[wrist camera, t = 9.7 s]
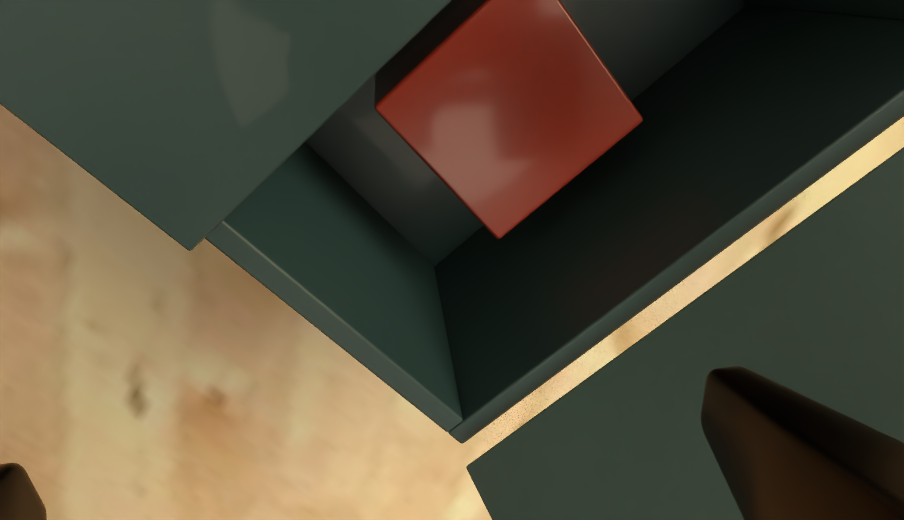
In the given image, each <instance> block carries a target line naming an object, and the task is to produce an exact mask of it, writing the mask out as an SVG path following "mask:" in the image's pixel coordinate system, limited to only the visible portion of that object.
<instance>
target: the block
mask: <svg viewBox="0 0 904 520" xmlns="http://www.w3.org/2000/svg"><path fill="white" fill-rule="evenodd" d="M374 108H375V110H376V111H377V113H378V114H379V115H380V116H381V117H382V118H383V119H384V120H385V121H386V122H387V123H388V124H389V125H390V126H391V127H392V128H393V130H394V131H395V132H396V133H397V134H398V135H399V136H400V137H401V138H402V139H403V140H404V141H405V142H406V143H407V144H408V145H409V147H410V148H411V149H412V150H413V151H414V152H415V153H416V154H417V155H418V156H419V157H420V158H421V159H422V160H423V161H424V162H425V163H426V165H427V166H428V167H429V168H430V169H431V170H432V171H433V172H434V173H435V174H436V175H437V176H438V177H439V178H440V179H441V180H442V182H443V183H444V184H445V185H446V186H447V187H448V188H449V189H450V190H451V191H452V192H453V193H454V194H455V195H456V196H457V197H458V199H459V200H460V201H461V202H462V203H463V204H464V205H465V206H466V207H467V208H468V209H469V210H470V211H471V212H472V213H473V214H474V216H475V217H476V218H477V219H478V220H479V221H480V222H481V223H482V224H483V225H484V226H485V227H486V228H487V229H488V230H489V231H490V232H491V234H492V235H493V236H494V237H495V238H497V239H500V238H502V237H503V236H504V235H505V234H507V233H508V232H509V231H510V230H511V229H513V228H514V227H515V226H516V225H518V224H519V223H520V222H521V221H522V220H524V219H525V218H526V217H527V216H528V215H530V214H531V213H532V212H533V211H535V210H536V209H537V208H538V207H539V206H541V205H542V204H543V203H544V202H545V201H547V200H548V199H549V198H550V197H552V196H553V195H554V194H555V193H556V192H558V191H559V190H560V189H561V188H562V187H564V186H565V185H566V184H567V183H569V182H570V181H571V180H572V179H573V178H575V177H576V176H577V175H578V174H579V173H581V172H582V171H583V170H584V169H585V168H587V167H588V166H589V165H590V164H592V163H593V162H594V161H595V160H596V159H598V158H599V157H600V156H601V155H602V154H604V153H605V152H606V151H607V150H609V149H610V148H611V147H612V146H613V145H615V144H616V143H617V142H618V141H619V140H621V139H622V138H623V137H624V136H626V135H627V134H628V133H629V132H630V131H632V130H633V129H634V128H635V127H636V126H638V125H639V124H640V123H641V122H642V121H643V119H642V116H641V115H640V113H639V112H638V111H637V109H636V108H635V106H634V105H633V103H632V102H631V101H630V99H629V98H628V96H627V95H626V93H625V92H624V91H623V89H622V88H621V86H620V85H619V83H618V82H617V81H616V79H615V78H614V76H613V75H612V74H611V72H610V71H609V69H608V68H607V66H606V65H605V64H604V62H603V61H602V59H601V58H600V56H599V55H598V54H597V52H596V51H595V49H594V48H593V46H592V45H591V44H590V42H589V41H588V39H587V38H586V36H585V35H584V34H583V32H582V31H581V29H580V28H579V26H578V25H577V24H576V22H575V21H574V19H573V18H572V16H571V15H570V14H569V12H568V11H567V9H566V8H565V7H564V5H563V4H562V2H561V1H560V0H452V1H451V2H450V3H449V4H448V5H447V6H446V7H445V8H444V9H443V10H442V11H441V12H440V13H439V14H438V15H437V16H435V17H434V18H433V19H432V20H431V21H430V22H429V23H428V24H427V25H426V26H425V27H424V28H423V29H422V30H421V31H420V32H419V33H418V34H417V35H416V36H415V37H414V38H413V39H412V40H410V41H409V42H408V43H407V44H406V45H405V46H404V47H403V48H402V49H401V50H400V51H399V52H398V53H397V54H396V55H395V56H394V57H393V58H392V59H391V60H390V61H389V62H388V63H387V64H385V65H384V66H383V67H382V68H381V69H380V70H379V71H378V72H377V73H376V75H375V93H374Z"/></svg>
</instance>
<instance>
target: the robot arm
mask: <svg viewBox="0 0 904 520" xmlns="http://www.w3.org/2000/svg"><path fill="white" fill-rule="evenodd" d="M701 425H702V429H703V432H704V435H705V437H706V439H707V441H708V443H709V445H710V448H711V450H712V452H713V454H714V456H715V458H716V460H717V463H718V465H719V467H720V469H721V471H722V473H723V475H724V478H725V480H726V482H727V484H728V486H729V488H730V490H731V493H732V495H733V497H734V499H735V501H736V503H737V505H738V508H739V510H740V512H741V514H742V516H743V518H744V520H904V443H903V442H901V441H899V440H897V439H895V438H893V437H891V436H888V435H886V434H884V433H882V432H880V431H878V430H876V429H874V428H871V427H869V426H867V425H865V424H863V423H861V422H859V421H857V420H855V419H852V418H850V417H848V416H846V415H844V414H842V413H840V412H838V411H836V410H833V409H831V408H829V407H827V406H825V405H823V404H821V403H819V402H816V401H814V400H812V399H810V398H808V397H806V396H804V395H802V394H800V393H797V392H795V391H793V390H791V389H789V388H787V387H785V386H783V385H781V384H778V383H776V382H774V381H772V380H770V379H768V378H766V377H764V376H761V375H759V374H757V373H755V372H753V371H751V370H749V369H747V368H744V367H741V366H731V367H724V368H716V369H713V370H711V371H710V372H709V374H708V375H707V379H706V384H705V391H704V397H703V403H702V410H701ZM0 520H47V517H46V509H45V506H44V504H43V502H42V500H41V498H40V496H39V495H38V493H37V491H36V489H35V487H34V485H33V483H32V482H31V480H30V478H29V476H28V474H27V472H26V471H25V469H24V468H23V467H22V466H20V465H19V464H16V463H7V464H0Z"/></svg>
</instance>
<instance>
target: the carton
mask: <svg viewBox="0 0 904 520" xmlns="http://www.w3.org/2000/svg"><path fill="white" fill-rule="evenodd" d="M451 1H452V0H0V104H1V105H2V106H4V107H5V108H6V109H8V110H9V111H10V112H11V113H13V114H14V115H15V116H17V117H18V118H19V119H20V120H22V121H23V122H24V123H26V124H27V125H28V126H29V127H31V128H32V129H33V130H35V131H36V132H37V133H38V134H40V135H41V136H42V137H44V138H45V139H46V140H47V141H49V142H50V143H51V144H52V145H54V146H55V147H56V148H58V149H59V150H60V151H61V152H63V153H64V154H65V155H67V156H68V157H69V158H70V159H72V160H73V161H74V162H76V163H77V164H78V165H79V166H81V167H82V168H83V169H85V170H86V171H87V172H88V173H90V174H91V175H92V176H94V177H95V178H96V179H97V180H99V181H100V182H101V183H102V184H104V185H105V186H106V187H108V188H109V189H110V190H111V191H113V192H114V193H115V194H117V195H118V196H119V197H120V198H122V199H123V200H124V201H126V202H127V203H128V204H129V205H131V206H132V207H133V208H135V209H136V210H137V211H138V212H140V213H141V214H142V215H143V216H145V217H146V218H147V219H149V220H150V221H151V222H152V223H154V224H155V225H156V226H158V227H159V228H160V229H161V230H163V231H164V232H165V233H167V234H168V235H169V236H170V237H172V238H173V239H174V240H176V241H177V242H178V243H179V244H181V245H182V246H183V247H185V248H186V249H187V250H189V251H191V250H193V249H194V248H195V247H196V246H197V245H198V244H199V243H200V242H201V241H202V240H203V239H204V238H205V239H206V240H208V241H209V242H210V243H211V244H213V245H214V246H215V247H216V248H218V249H219V250H220V251H221V252H223V253H224V254H225V255H226V256H228V257H229V258H230V259H231V260H233V261H234V262H235V263H236V264H238V265H239V266H240V267H241V268H243V269H244V270H245V271H246V272H248V273H249V274H250V275H251V276H253V277H254V278H255V279H256V280H258V281H259V282H260V283H261V284H263V285H264V286H265V287H266V288H268V289H269V290H270V291H271V292H273V293H274V294H275V295H276V296H278V297H279V298H280V299H281V300H283V301H284V302H285V303H286V304H288V305H289V306H290V307H291V308H293V309H294V310H295V311H296V312H298V313H299V314H300V315H301V316H303V317H304V318H305V319H306V320H308V321H309V322H310V323H311V324H313V325H314V326H315V327H316V328H318V329H319V330H320V331H321V332H323V333H324V334H325V335H326V336H328V337H329V338H330V339H331V340H333V341H334V342H335V343H336V344H338V345H339V346H340V347H341V348H343V349H344V350H345V351H346V352H348V353H349V354H350V355H351V356H353V357H354V358H355V359H356V360H358V361H359V362H360V363H361V364H363V365H364V366H365V367H366V368H368V369H369V370H370V371H371V372H372V373H374V374H375V375H376V376H377V377H379V378H380V379H381V380H382V381H384V382H385V383H386V384H387V385H389V386H390V387H391V388H392V389H394V390H395V391H396V392H397V393H399V394H400V395H401V396H402V397H404V398H405V399H406V400H407V401H409V402H410V403H411V404H412V405H414V406H415V407H416V408H417V409H419V410H420V411H421V412H422V413H424V414H425V415H426V416H427V417H429V418H430V419H431V420H432V421H434V422H435V423H436V424H437V425H439V426H440V427H441V428H442V429H444V430H445V431H446V432H448V433H449V434H450V435H451V436H452V437H454V438H455V439H456V440H457V441H459V442H460V443H464V442H466V441H467V440H468V439H470V438H471V437H472V436H474V435H475V434H476V433H478V432H479V431H480V430H482V429H483V428H484V427H486V426H487V425H488V424H490V423H491V422H493V421H494V420H495V419H497V418H498V417H499V416H501V415H502V414H503V413H505V412H506V411H507V410H509V409H510V408H511V407H513V406H514V405H515V404H517V403H518V402H519V401H521V400H522V399H524V398H525V397H526V396H528V395H529V394H530V393H532V392H533V391H534V390H536V389H537V388H538V387H540V386H541V385H542V384H544V383H545V382H546V381H548V380H549V379H550V378H552V377H553V376H555V375H556V374H557V373H559V372H560V371H561V370H563V369H564V368H565V367H567V366H568V365H569V364H571V363H572V362H573V361H575V360H576V359H577V358H579V357H580V356H581V355H583V354H584V353H586V352H587V351H588V350H590V349H591V348H592V347H594V346H595V345H596V344H598V343H599V342H600V341H602V340H603V339H604V338H606V337H607V336H608V335H610V334H611V333H612V332H614V331H615V330H616V329H618V328H619V327H621V326H622V325H623V324H625V323H626V322H627V321H629V320H630V319H631V318H633V317H634V316H635V315H637V314H638V313H639V312H641V311H642V310H643V309H645V308H646V307H647V306H649V305H650V304H652V303H653V302H654V301H656V300H657V299H658V298H660V297H661V296H662V295H664V294H665V293H666V292H668V291H669V290H670V289H672V288H673V287H674V286H676V285H677V284H678V283H680V282H681V281H683V280H684V279H685V278H687V277H688V276H689V275H691V274H692V273H693V272H695V271H696V270H697V269H699V268H700V267H701V266H703V265H704V264H705V263H707V262H708V261H709V260H711V259H712V258H714V257H715V256H716V255H718V254H719V253H720V252H722V251H723V250H724V249H726V248H727V247H728V246H730V245H731V244H732V243H734V242H735V241H736V240H738V239H739V238H740V237H742V236H743V235H745V234H746V233H747V232H749V231H750V230H751V229H753V228H754V227H755V226H757V225H758V224H759V223H761V222H762V221H763V220H765V219H766V218H767V217H769V216H770V215H771V214H773V213H774V212H776V211H777V210H778V209H780V208H781V207H782V206H784V205H785V204H786V203H788V202H789V201H790V200H792V199H793V198H794V197H796V196H797V195H798V194H800V193H801V192H802V191H804V190H805V189H806V188H808V187H809V186H811V185H812V184H813V183H815V182H816V181H817V180H819V179H820V178H821V177H823V176H824V175H825V174H827V173H828V172H829V171H831V170H832V169H833V168H835V167H836V166H837V165H839V164H840V163H842V162H843V161H844V160H846V159H847V158H848V157H850V156H851V155H852V154H854V153H855V152H856V151H858V150H859V149H860V148H862V147H863V146H864V145H866V144H867V143H868V142H870V141H871V140H873V139H874V138H875V137H877V136H878V135H879V134H881V133H882V132H883V131H885V130H886V129H887V128H889V127H890V126H891V125H893V124H894V123H895V122H897V121H898V120H899V119H901V118H902V117H904V0H560V1H561V2H562V4H563V5H564V7H565V8H566V9H567V11H568V12H569V14H570V15H571V16H572V18H573V19H574V21H575V22H576V24H577V25H578V26H579V28H580V29H581V31H582V32H583V34H584V35H585V36H586V38H587V39H588V41H589V42H590V44H591V45H592V46H593V48H594V49H595V51H596V52H597V54H598V55H599V56H600V58H601V59H602V61H603V62H604V64H605V65H606V66H607V68H608V69H609V71H610V72H611V74H612V75H613V76H614V78H615V79H616V81H617V82H618V83H619V85H620V86H621V88H622V89H623V91H624V92H625V93H626V95H627V96H628V98H629V99H630V101H631V102H632V103H633V105H634V106H635V108H636V109H637V111H638V112H639V113H640V115H641V116H642V119H643V121H642V122H641V123H640V124H639V125H638V126H636V127H635V128H634V129H633V130H632V131H630V132H629V133H628V134H627V135H626V136H624V137H623V138H622V139H621V140H619V141H618V142H617V143H616V144H615V145H613V146H612V147H611V148H610V149H609V150H607V151H606V152H605V153H604V154H602V155H601V156H600V157H599V158H598V159H596V160H595V161H594V162H593V163H592V164H590V165H589V166H588V167H587V168H585V169H584V170H583V171H582V172H581V173H579V174H578V175H577V176H576V177H575V178H573V179H572V180H571V181H570V182H569V183H567V184H566V185H565V186H564V187H562V188H561V189H560V190H559V191H558V192H556V193H555V194H554V195H553V196H552V197H550V198H549V199H548V200H547V201H545V202H544V203H543V204H542V205H541V206H539V207H538V208H537V209H536V210H535V211H533V212H532V213H531V214H530V215H528V216H527V217H526V218H525V219H524V220H522V221H521V222H520V223H519V224H518V225H516V226H515V227H514V228H513V229H511V230H510V231H509V232H508V233H507V234H505V235H504V236H503V237H502V238H500V239H497V238H495V237H494V236H493V235H492V234H491V232H490V231H489V230H488V229H487V228H486V227H485V226H484V225H483V224H482V223H481V222H480V221H479V220H478V219H477V218H476V217H475V216H474V214H473V213H472V212H471V211H470V210H469V209H468V208H467V207H466V206H465V205H464V204H463V203H462V202H461V201H460V200H459V199H458V197H457V196H456V195H455V194H454V193H453V192H452V191H451V190H450V189H449V188H448V187H447V186H446V185H445V184H444V183H443V182H442V180H441V179H440V178H439V177H438V176H437V175H436V174H435V173H434V172H433V171H432V170H431V169H430V168H429V167H428V166H427V165H426V163H425V162H424V161H423V160H422V159H421V158H420V157H419V156H418V155H417V154H416V153H415V152H414V151H413V150H412V149H411V148H410V147H409V145H408V144H407V143H406V142H405V141H404V140H403V139H402V138H401V137H400V136H399V135H398V134H397V133H396V132H395V131H394V130H393V128H392V127H391V126H390V125H389V124H388V123H387V122H386V121H385V120H384V119H383V118H382V117H381V116H380V115H379V114H378V113H377V111H376V110H375V108H374V93H375V75H376V73H377V72H378V71H379V70H380V69H381V68H382V67H383V66H384V65H385V64H387V63H388V62H389V61H390V60H391V59H392V58H393V57H394V56H395V55H396V54H397V53H398V52H399V51H400V50H401V49H402V48H403V47H404V46H405V45H406V44H407V43H408V42H409V41H410V40H412V39H413V38H414V37H415V36H416V35H417V34H418V33H419V32H420V31H421V30H422V29H423V28H424V27H425V26H426V25H427V24H428V23H429V22H430V21H431V20H432V19H433V18H434V17H435V16H437V15H438V14H439V13H440V12H441V11H442V10H443V9H444V8H445V7H446V6H447V5H448V4H449V3H450V2H451Z"/></svg>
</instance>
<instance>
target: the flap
mask: <svg viewBox="0 0 904 520" xmlns="http://www.w3.org/2000/svg"><path fill="white" fill-rule="evenodd" d="M731 366H741V367H744V368H747V369H749V370H751V371H753V372H755V373H757V374H759V375H761V376H764V377H766V378H768V379H770V380H772V381H774V382H776V383H778V384H781V385H783V386H785V387H787V388H789V389H791V390H793V391H795V392H797V393H800V394H802V395H804V396H806V397H808V398H810V399H812V400H814V401H816V402H819V403H821V404H823V405H825V406H827V407H829V408H831V409H833V410H836V411H838V412H840V413H842V414H844V415H846V416H848V417H850V418H852V419H855V420H857V421H859V422H861V423H863V424H865V425H867V426H869V427H871V428H874V429H876V430H878V431H880V432H882V433H884V434H886V435H888V436H891V437H893V438H895V439H897V440H899V441H901V442H903V443H904V147H903V148H902V149H901V150H899V151H898V152H897V153H895V154H894V155H892V156H891V157H890V158H888V159H887V160H886V161H884V162H883V163H882V164H880V165H879V166H877V167H876V168H875V169H873V170H872V171H871V172H869V173H868V174H866V175H865V176H864V177H862V178H861V179H860V180H858V181H857V182H855V183H854V184H853V185H851V186H850V187H849V188H847V189H846V190H845V191H843V192H842V193H840V194H839V195H838V196H836V197H835V198H834V199H832V200H831V201H829V202H828V203H827V204H825V205H824V206H823V207H821V208H820V209H818V210H817V211H816V212H814V213H813V214H812V215H810V216H809V217H808V218H806V219H805V220H803V221H802V222H801V223H799V224H798V225H797V226H795V227H794V228H792V229H791V230H790V231H788V232H787V233H786V234H784V235H783V236H781V237H780V238H779V239H777V240H776V241H775V242H773V243H772V244H771V245H769V246H768V247H766V248H765V249H764V250H762V251H761V252H760V253H758V254H757V255H755V256H754V257H753V258H751V259H750V260H749V261H747V262H746V263H744V264H743V265H742V266H740V267H739V268H738V269H736V270H735V271H734V272H732V273H731V274H729V275H728V276H727V277H725V278H724V279H723V280H721V281H720V282H718V283H717V284H716V285H714V286H713V287H712V288H710V289H709V290H707V291H706V292H705V293H703V294H702V295H701V296H699V297H698V298H697V299H695V300H694V301H692V302H691V303H690V304H688V305H687V306H686V307H684V308H683V309H681V310H680V311H679V312H677V313H676V314H675V315H673V316H672V317H670V318H669V319H668V320H666V321H665V322H664V323H662V324H661V325H660V326H658V327H657V328H655V329H654V330H653V331H651V332H650V333H649V334H647V335H646V336H644V337H643V338H642V339H640V340H639V341H638V342H636V343H635V344H633V345H632V346H631V347H629V348H628V349H627V350H625V351H624V352H623V353H621V354H620V355H618V356H617V357H616V358H614V359H613V360H612V361H610V362H609V363H607V364H606V365H605V366H603V367H602V368H601V369H599V370H598V371H596V372H595V373H594V374H592V375H591V376H590V377H588V378H587V379H586V380H584V381H583V382H581V383H580V384H579V385H577V386H576V387H575V388H573V389H572V390H570V391H569V392H568V393H566V394H565V395H564V396H562V397H561V398H559V399H558V400H557V401H555V402H554V403H553V404H551V405H550V406H549V407H547V408H546V409H544V410H543V411H542V412H540V413H539V414H538V415H536V416H535V417H533V418H532V419H531V420H529V421H528V422H527V423H525V424H524V425H522V426H521V427H520V428H518V429H517V430H516V431H514V432H513V433H512V434H510V435H509V436H507V437H506V438H505V439H503V440H502V441H501V442H499V443H498V444H496V445H495V446H494V447H492V448H491V449H490V450H488V451H487V452H485V453H484V454H483V455H481V456H480V457H479V458H477V459H476V460H475V461H473V462H472V463H470V464H469V465H468V466H467V467H466V468H467V470H468V472H469V474H470V476H471V478H472V480H473V482H474V484H475V486H476V488H477V490H478V492H479V494H480V496H481V498H482V500H483V502H484V504H485V506H486V508H487V510H488V512H489V514H490V516H491V518H492V520H744V518H743V516H742V514H741V512H740V510H739V508H738V505H737V503H736V501H735V499H734V497H733V495H732V493H731V490H730V488H729V486H728V484H727V482H726V480H725V478H724V475H723V473H722V471H721V469H720V467H719V465H718V463H717V460H716V458H715V456H714V454H713V452H712V450H711V448H710V445H709V443H708V441H707V439H706V437H705V435H704V432H703V429H702V425H701V410H702V403H703V397H704V391H705V384H706V379H707V375H708V374H709V372H710V371H711V370H713V369H716V368H724V367H731Z"/></svg>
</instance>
